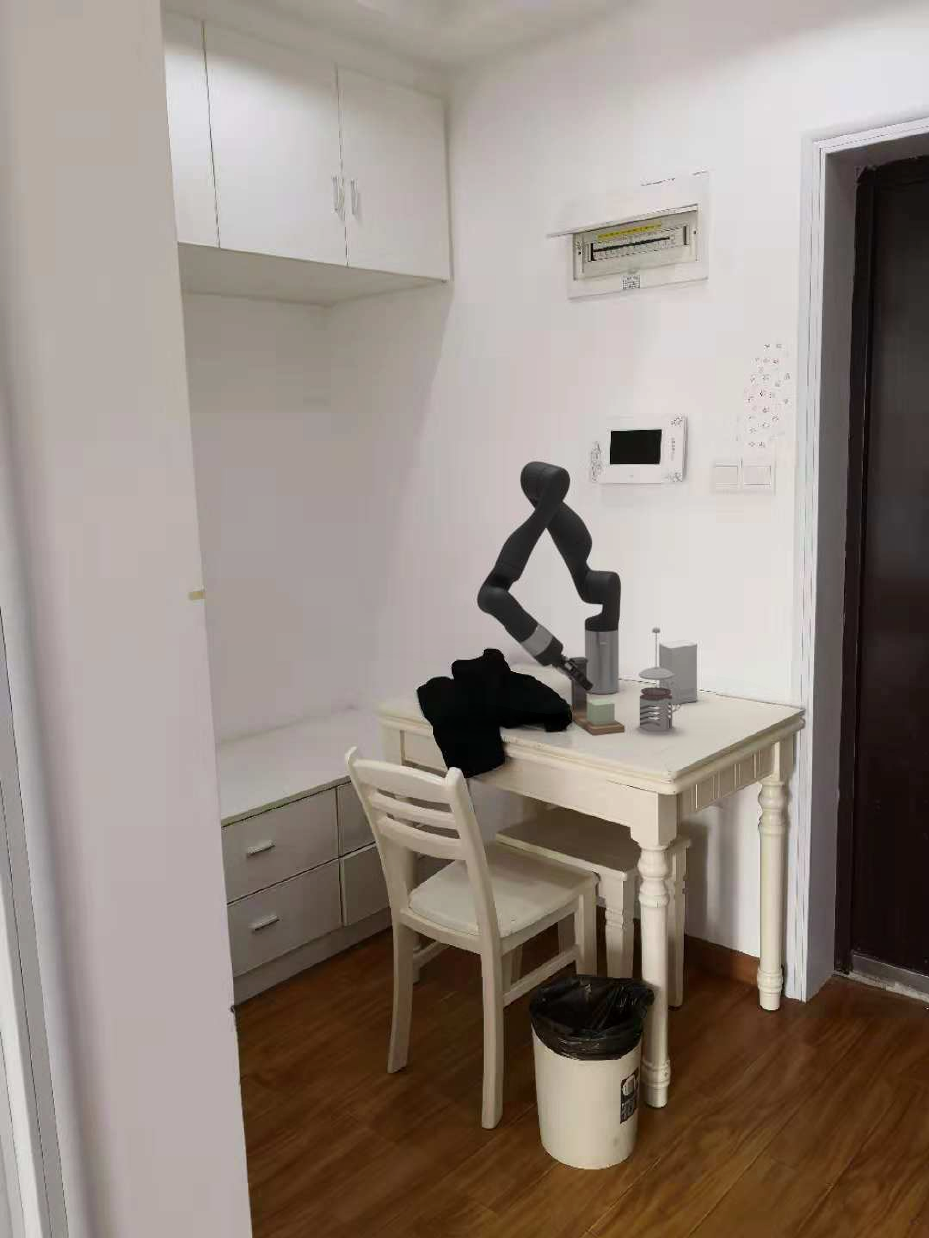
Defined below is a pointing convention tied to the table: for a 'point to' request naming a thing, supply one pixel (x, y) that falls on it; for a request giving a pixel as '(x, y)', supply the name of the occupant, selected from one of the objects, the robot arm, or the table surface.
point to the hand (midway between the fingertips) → (583, 684)
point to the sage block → (600, 712)
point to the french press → (656, 701)
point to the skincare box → (679, 669)
